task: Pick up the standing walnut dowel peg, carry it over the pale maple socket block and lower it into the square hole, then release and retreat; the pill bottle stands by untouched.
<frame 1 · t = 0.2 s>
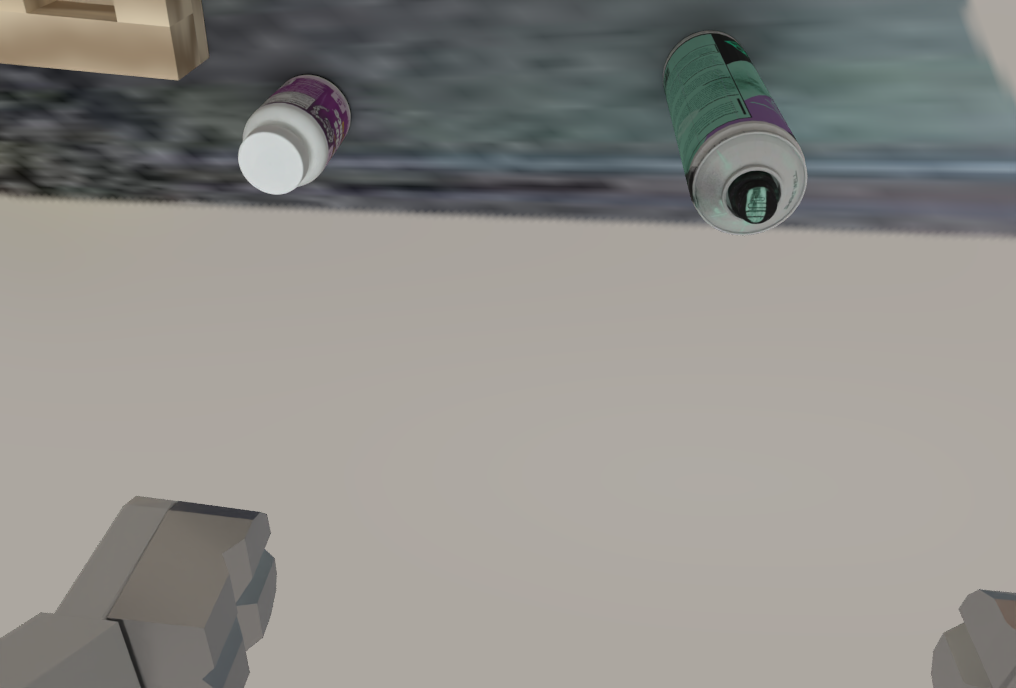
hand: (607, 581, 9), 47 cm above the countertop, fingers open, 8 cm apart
spray can: (704, 72, 52), on the countertop
pill bottle: (315, 109, 56), on the countertop
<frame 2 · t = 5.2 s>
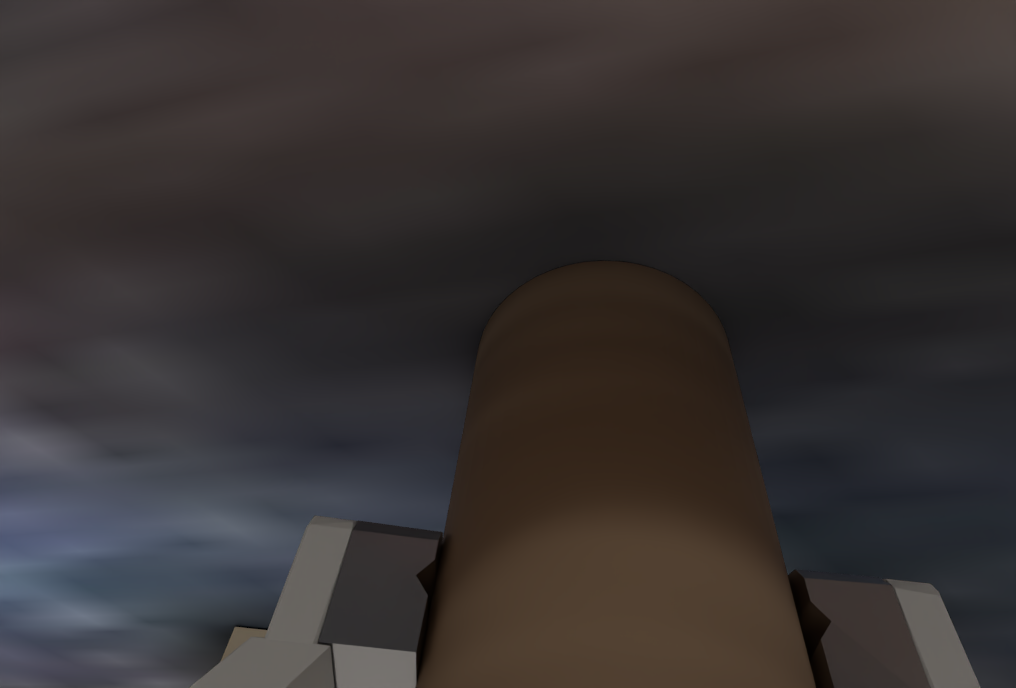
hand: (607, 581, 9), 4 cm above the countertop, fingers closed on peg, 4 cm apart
peg: (601, 370, 13), on the countertop, touching gripper
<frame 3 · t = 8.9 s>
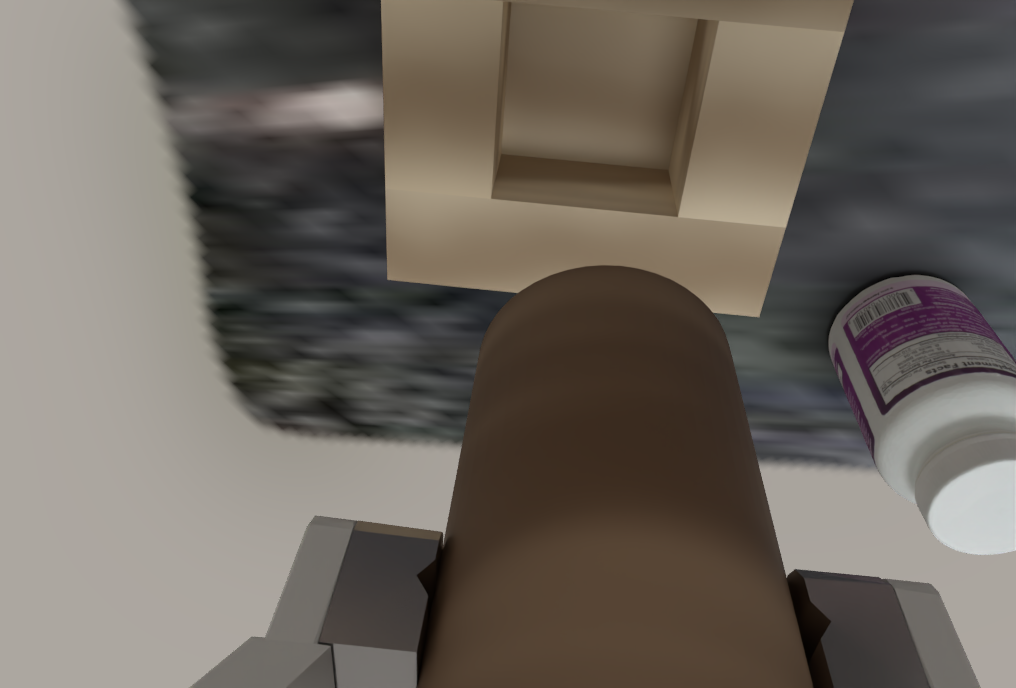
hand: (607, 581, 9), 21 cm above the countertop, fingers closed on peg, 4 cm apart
pill bottle: (896, 325, 32), on the countertop
peg: (602, 374, 13), point 17 cm above the countertop, touching gripper
socket block: (595, 63, 26), on the countertop
when the fingers open (7 cm above the countertop, at t = 12.7 s): peg drops 1 cm, resting on socket block.
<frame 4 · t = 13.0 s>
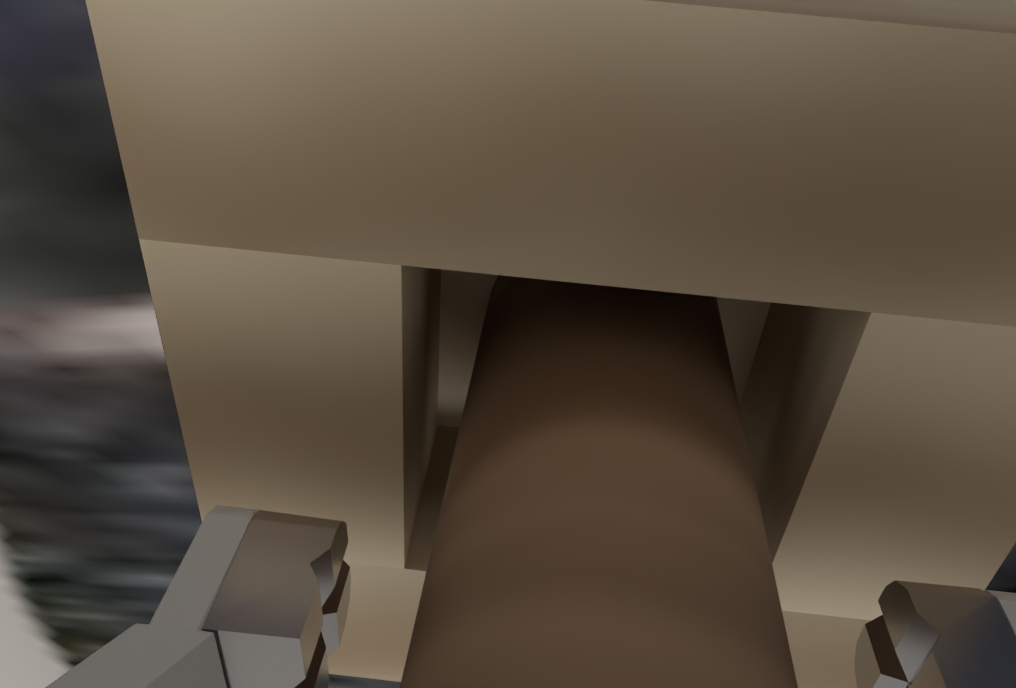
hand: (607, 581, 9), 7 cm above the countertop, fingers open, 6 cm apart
peg: (600, 324, 14), point 2 cm above the countertop, touching socket block
socket block: (598, 277, 15), on the countertop
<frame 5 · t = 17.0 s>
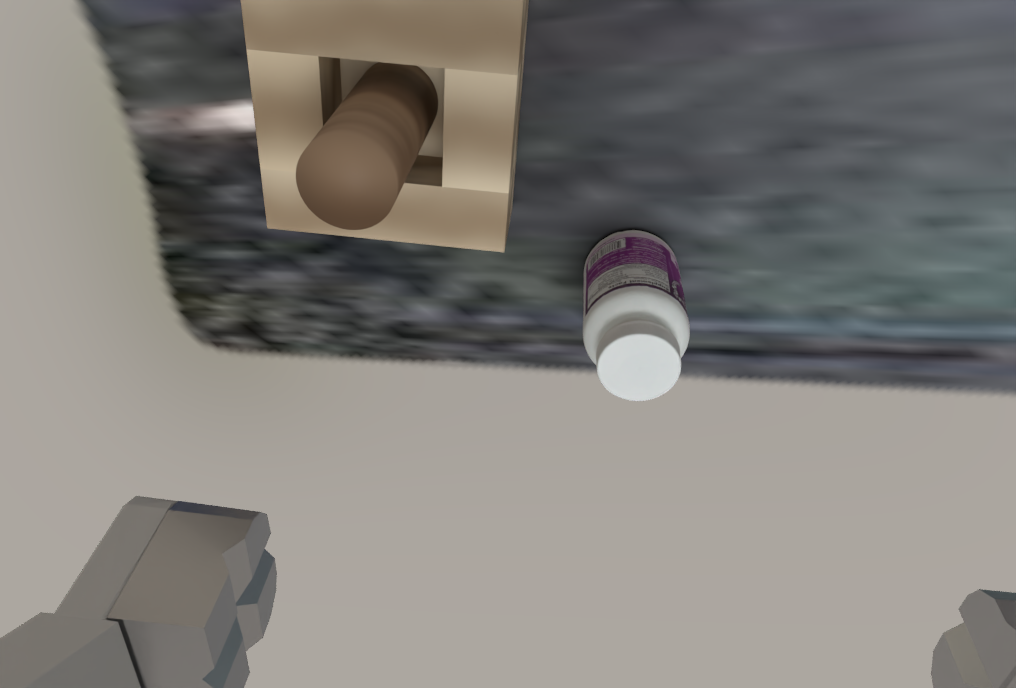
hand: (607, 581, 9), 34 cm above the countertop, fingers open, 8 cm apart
pill bottle: (630, 266, 46), on the countertop
peg: (398, 100, 40), point 2 cm above the countertop, touching socket block
socket block: (403, 89, 41), on the countertop
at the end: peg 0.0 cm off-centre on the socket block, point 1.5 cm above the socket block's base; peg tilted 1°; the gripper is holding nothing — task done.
